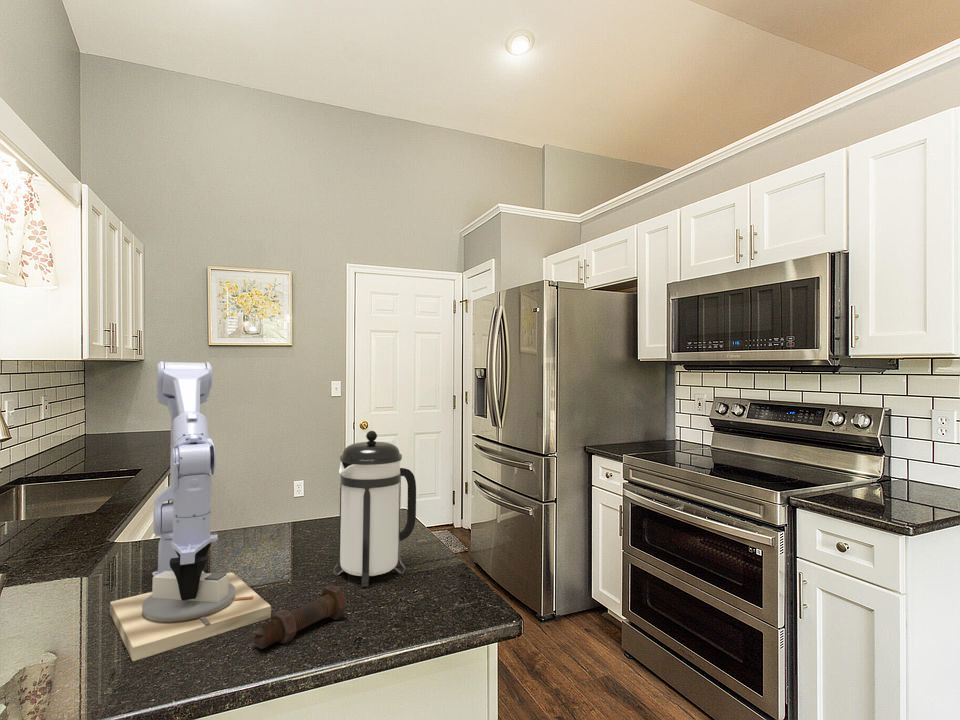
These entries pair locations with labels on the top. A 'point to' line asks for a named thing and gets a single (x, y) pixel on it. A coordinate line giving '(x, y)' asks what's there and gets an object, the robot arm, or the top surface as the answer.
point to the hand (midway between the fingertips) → (190, 592)
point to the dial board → (184, 622)
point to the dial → (171, 607)
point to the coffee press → (372, 508)
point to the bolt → (300, 618)
